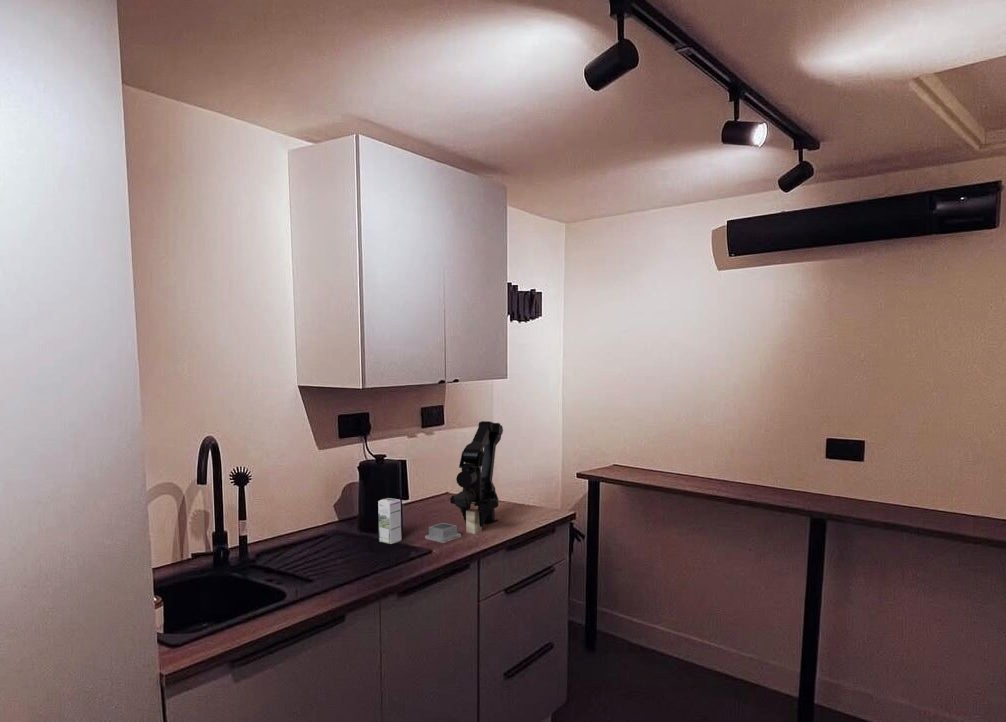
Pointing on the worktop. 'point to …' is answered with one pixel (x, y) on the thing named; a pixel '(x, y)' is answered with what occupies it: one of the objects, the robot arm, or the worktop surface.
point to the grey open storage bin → (443, 532)
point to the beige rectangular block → (472, 521)
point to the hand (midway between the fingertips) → (474, 524)
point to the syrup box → (389, 520)
